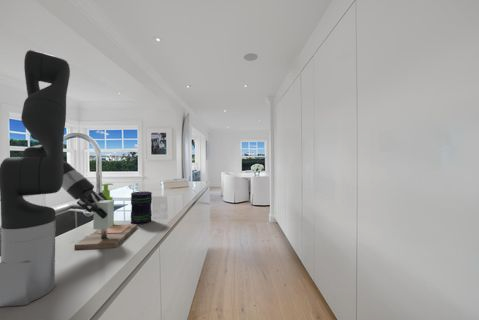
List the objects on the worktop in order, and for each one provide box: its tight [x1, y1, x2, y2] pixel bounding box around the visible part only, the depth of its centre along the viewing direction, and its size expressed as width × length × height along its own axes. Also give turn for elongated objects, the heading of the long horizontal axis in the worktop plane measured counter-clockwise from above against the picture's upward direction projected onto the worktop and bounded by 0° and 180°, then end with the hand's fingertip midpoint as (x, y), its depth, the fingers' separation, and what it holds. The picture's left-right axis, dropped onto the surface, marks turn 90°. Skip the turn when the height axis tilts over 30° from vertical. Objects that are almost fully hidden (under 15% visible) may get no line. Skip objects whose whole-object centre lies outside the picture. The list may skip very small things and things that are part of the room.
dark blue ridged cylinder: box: [130, 191, 153, 226], centre depth 107 cm, size 10×10×15 cm
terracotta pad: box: [98, 226, 129, 234], centre depth 90 cm, size 9×9×1 cm
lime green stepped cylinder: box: [101, 182, 114, 200], centre depth 102 cm, size 6×7×20 cm
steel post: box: [101, 229, 107, 239], centre depth 81 cm, size 2×2×6 cm
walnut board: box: [73, 223, 138, 250], centre depth 86 cm, size 22×14×2 cm, turn 8°
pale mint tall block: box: [92, 199, 115, 230], centre depth 81 cm, size 5×5×10 cm
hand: (109, 214), depth 81 cm, fingers closed on pale mint tall block, 5 cm apart
